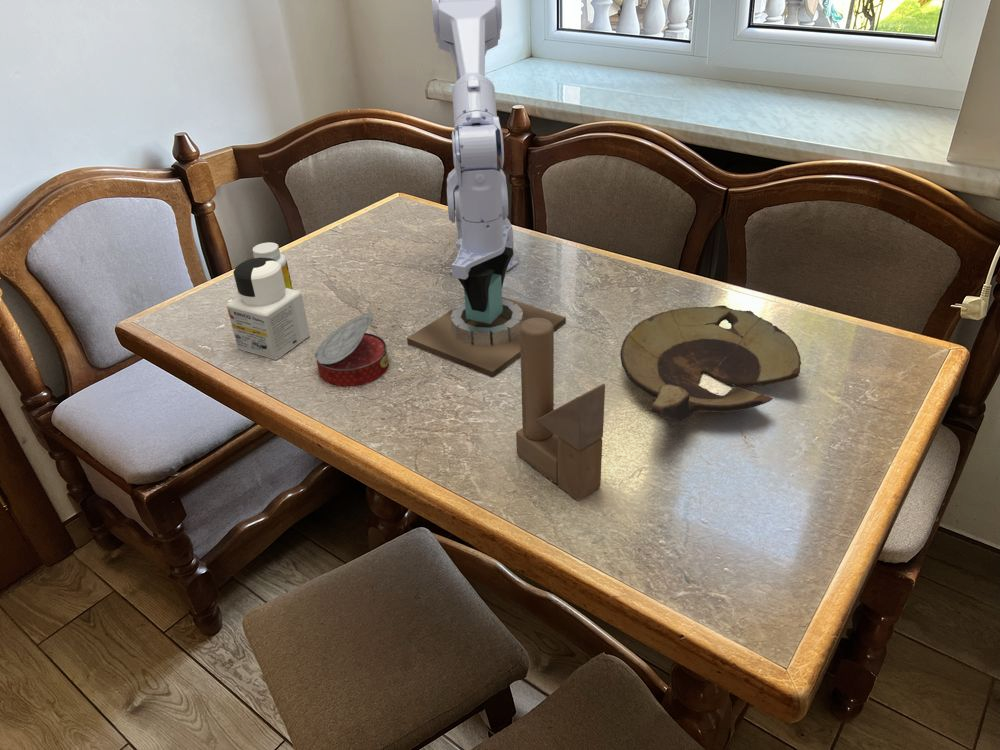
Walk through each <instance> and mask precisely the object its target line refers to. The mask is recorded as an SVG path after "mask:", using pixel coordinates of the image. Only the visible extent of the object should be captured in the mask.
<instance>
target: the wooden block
mask: <svg viewBox="0 0 1000 750" xmlns="http://www.w3.org/2000/svg"><path fill="white" fill-rule="evenodd" d="M554 333H555V332H554V326H553V324H552V323H551V322H550V321H549V320H547V319H544V318H530V319H527V320H525V321H523V322H522V324H521V326H520V353H521V357H520V380H521V381H520V383H521V387H520V388H521V415H522V417H521V418H522V419H521V420H522V427H521V428H520V429H518V430H516V432H515V437H516V438H515V440H516V454H517V456H518V457H520V458H521V459H522V460H523V461H525V462H526V463H528V465H530V466H532V467H533V468H534V469H535V470H537V471H538V472H540V473H541V474H542V475H544V476H545V477H546V478H548V479H549V480H551V482H553V483H554V484H557V486H558V487H559V488H560V489H562V490H563V491H564V492H566V493H567V494H568V495H570V496H571V497H572V498H574V499H575V500H576V501H581V500H583V499H585V497H587V496H590V494H592V493H594V492H595V491H597V490H598V489H600V488H601V484H602V482H601V480H602V478H601V477H602V459H603V439H602V438H603V437H604V423H605V420H604V419H605V397H606V383H601V384H600V385H598V386H596V387H594V388H592V389H590V390H589V391H587V392H585V393H582V394H581V395H579V396H577V397H576V398H574V399H571V400H570V401H568V402H566V403H563V404H562V405H561V406H559V407H557V408H555V409H554V407H555V406H554V404H555V403H554V401H555V400H554V398H555V397H554V396H555V394H554V392H555V391H554V390H555V387H554V383H555V382H554V381H555V377H554V375H555V369H554V368H555V367H554V366H555V363H554V362H555V361H554V360H555V359H554V358H555V356H554V355H555V353H554V352H555V349H554Z"/></svg>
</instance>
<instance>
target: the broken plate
mask: <svg viewBox="0 0 1000 750" xmlns="http://www.w3.org/2000/svg"><path fill="white" fill-rule="evenodd" d="M723 321H727V322H728V324H730V325H731V326H730V328H726V327H722V326H720V324H721V323H722V322H723ZM793 340H794V339H792V338H791V336H790V335H789V334H787V333H786V332H785V331H783V330H782V329H781V328H779V327H778V326H777V325H773V323H772V322H770V321H768V320H765V319H764V318H763V317H759V316H758V315H756V314H755V313H754V312H753V311H752V310H741V309H733V308H730V307H728V306H726V305H722V304H721V305H715V306H693V307H682V308H681V307H679V308H676V309H671V310H667V311H662V312H660V313H659V312H658V313H656V314H654V315H651V316H650V317H647V318H645V319H643V320H640V321H639V322H638V323H637V324H635V326H633V328H632V330H631V331H629V332H628V333H627V335H626V336H625V337H624V340H623V342H622V344H621V348H620V363H621V366H622V368H623V369H622V370H624V372H625V374H626V376H627V377H628V379H629V380H630V381H631V382H632V384H634V385H635V386H636V387H637V388H638V389H640V390H642V392H645V393H646V394H648V395H649V396H650V397H652V398H653V399H655V400H654V401H653V402H652V404H651V409H650V410H651V412H652V414H655V415H658V416H661V417H664V418H667V419H668V420H671V421H673V422H682V421H684V420H686V419H687V418H689V416H691V415H692V414H695V413H702V412H703V413H704V412H705V413H706V412H712V413H714V412H716V413H727V412H736V411H737V412H738V411H742V410H747V409H752V408H756V407H758V406H759V407H760V406H761V405H764V404H767V403H769V402H771V401H772V400H773V397H772V396H769V395H765V394H764V393H757V392H755V391H750V390H748V389H746V388H750V387H751V388H752V387H756V386H766V385H770V384H775V383H782V382H785V381H790V380H792V379H796V378H798V377H799V375H800V372H801V365H802V361H801V355H800V352H799V350H798V349H799V348H798V346H797V344H796V343H795V341H793ZM703 373H707V374H708V375H710V376H711V377H713V378H715V379H716V380H718V381H720V382H722V383H724V384H726V385H729V386H733V387H732V388H731V389H729V391H728V392H726V393H725V394H723V395H719V393H718V392H716V393H714V392H711V391H710V390H709V389H707V388H705V387H702V386H701V385H699V383H700V380H701V377H702V374H703ZM742 387H744V388H745V389H744V388H742Z"/></svg>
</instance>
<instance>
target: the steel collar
mask: <svg viewBox="0 0 1000 750" xmlns="http://www.w3.org/2000/svg"><path fill="white" fill-rule="evenodd" d="M502 308H503V312H502V313H501V314H500V315H499V316H501V317H504V318H507V319H508V320H509V321H507V322H506V323H504V324H503V325H499V326H495V327H490V328H486V327H474V326H472V325H469V324H466V323H465V322H467V321H468V320H469V319H466V309H465V301H464V302H462V303H461V305H460V304H459V305H458V306H455V307H454V308H453V309H455V310H453V312H452V314H451V317H450V319H451V330H452V333H453V334H454V336H455V337H456V338H457V339H459V341H462V342H464V343H467V344H470V345H472V344H474V346H491V344H492V345H493V346H495V345H499V344H503V343H507V342H509V341H512V340H513V339H515V338H516V337H517V336H519V335H520V326H521V324H522V322H523V310H522V309H521V308H520V307H519V306H518V305H517V304H515V303H514V302H511V301H508V300H505V299H502Z"/></svg>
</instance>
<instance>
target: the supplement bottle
mask: <svg viewBox="0 0 1000 750" xmlns="http://www.w3.org/2000/svg"><path fill="white" fill-rule="evenodd" d="M252 254H253V258H271V259H274V260H276V261H278V262H279V263H280V264H281V269H282V273H283V278H284V283H285V287H286V288H289V289H293V284H292V279H291V274H290V269H289V265H288V261H287V257H286V256H285V255H284V254H282V253H281V251H280V247H279V244H277V243H275V242H262V243H259V244H256V245H255V246H253V247H252ZM293 290H294V289H293Z"/></svg>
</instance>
